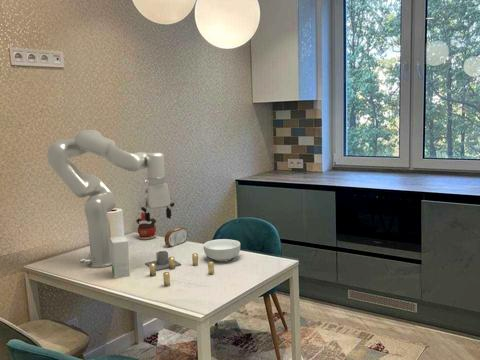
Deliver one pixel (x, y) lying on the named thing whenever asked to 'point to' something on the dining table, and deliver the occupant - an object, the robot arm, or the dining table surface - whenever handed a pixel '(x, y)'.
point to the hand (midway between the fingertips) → (158, 219)
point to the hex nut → (162, 257)
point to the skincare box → (120, 256)
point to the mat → (162, 267)
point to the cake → (146, 227)
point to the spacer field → (172, 266)
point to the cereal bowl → (222, 249)
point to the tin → (176, 236)
